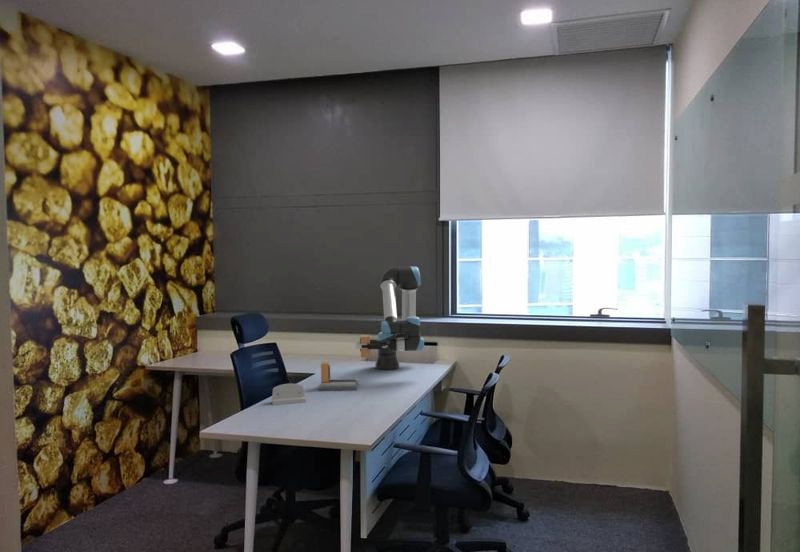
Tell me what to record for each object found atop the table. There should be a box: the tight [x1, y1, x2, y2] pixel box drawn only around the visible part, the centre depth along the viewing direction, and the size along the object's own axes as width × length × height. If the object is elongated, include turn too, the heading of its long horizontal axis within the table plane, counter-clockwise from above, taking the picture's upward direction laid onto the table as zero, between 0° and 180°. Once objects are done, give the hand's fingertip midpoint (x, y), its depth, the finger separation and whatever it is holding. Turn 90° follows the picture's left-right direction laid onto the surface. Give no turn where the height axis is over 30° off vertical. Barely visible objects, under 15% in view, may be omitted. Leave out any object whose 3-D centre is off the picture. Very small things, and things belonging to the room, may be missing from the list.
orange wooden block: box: [359, 334, 371, 359], centre depth 325 cm, size 5×6×12 cm
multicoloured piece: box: [318, 361, 359, 392], centre depth 312 cm, size 14×20×14 cm
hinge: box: [271, 383, 307, 406], centre depth 286 cm, size 17×5×10 cm, turn 104°
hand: (356, 345), depth 325 cm, fingers closed on orange wooden block, 5 cm apart
